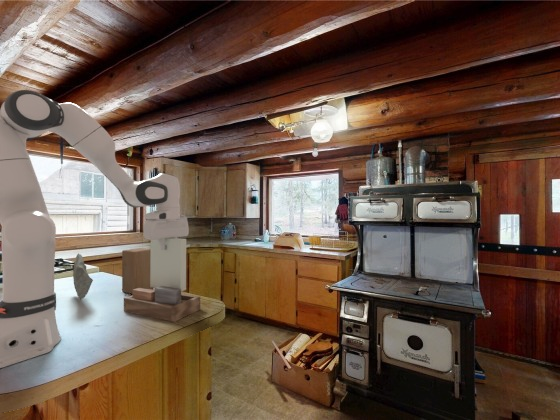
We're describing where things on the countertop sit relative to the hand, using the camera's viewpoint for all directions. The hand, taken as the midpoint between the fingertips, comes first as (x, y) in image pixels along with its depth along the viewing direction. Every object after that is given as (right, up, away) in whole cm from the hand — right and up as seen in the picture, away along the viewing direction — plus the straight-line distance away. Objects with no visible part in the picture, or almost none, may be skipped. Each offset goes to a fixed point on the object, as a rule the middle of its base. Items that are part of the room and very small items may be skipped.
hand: (168, 249), depth 112 cm
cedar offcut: (-8, -24, -3) cm, 25 cm away
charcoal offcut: (+3, -24, -8) cm, 25 cm away
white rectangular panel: (0, -16, 0) cm, 16 cm away
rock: (-42, -24, +10) cm, 50 cm away
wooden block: (-24, -24, +24) cm, 42 cm away
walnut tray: (-1, -24, -3) cm, 24 cm away
